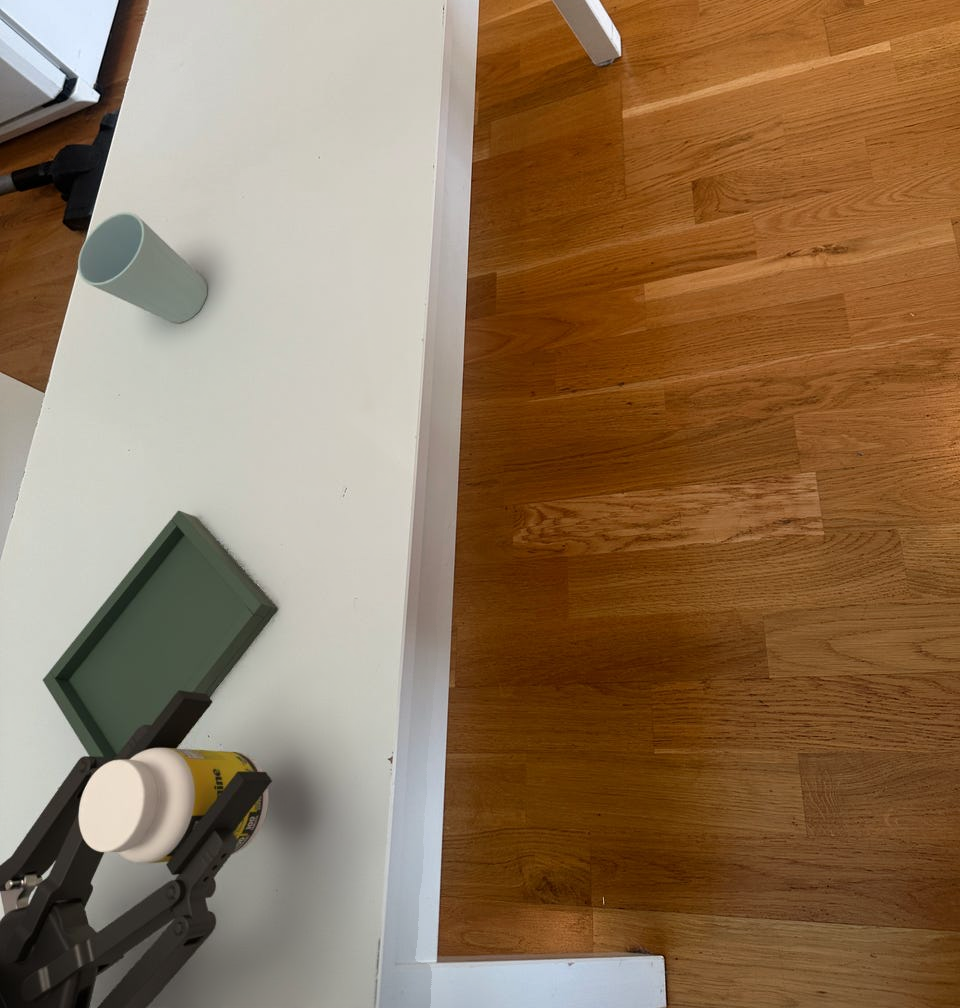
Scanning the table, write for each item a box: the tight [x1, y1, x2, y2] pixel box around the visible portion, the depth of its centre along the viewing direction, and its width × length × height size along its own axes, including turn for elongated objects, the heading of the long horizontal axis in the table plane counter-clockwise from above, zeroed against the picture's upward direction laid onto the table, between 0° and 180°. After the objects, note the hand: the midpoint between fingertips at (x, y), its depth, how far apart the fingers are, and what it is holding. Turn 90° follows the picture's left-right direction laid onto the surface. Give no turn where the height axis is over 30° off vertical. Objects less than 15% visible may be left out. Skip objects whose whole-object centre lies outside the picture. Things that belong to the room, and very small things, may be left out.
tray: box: [42, 509, 279, 757], centre depth 72 cm, size 18×13×2 cm
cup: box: [77, 211, 208, 324], centre depth 85 cm, size 8×8×10 cm
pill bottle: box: [79, 748, 269, 864], centre depth 54 cm, size 6×6×11 cm
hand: (224, 735), depth 54 cm, fingers closed on pill bottle, 6 cm apart
